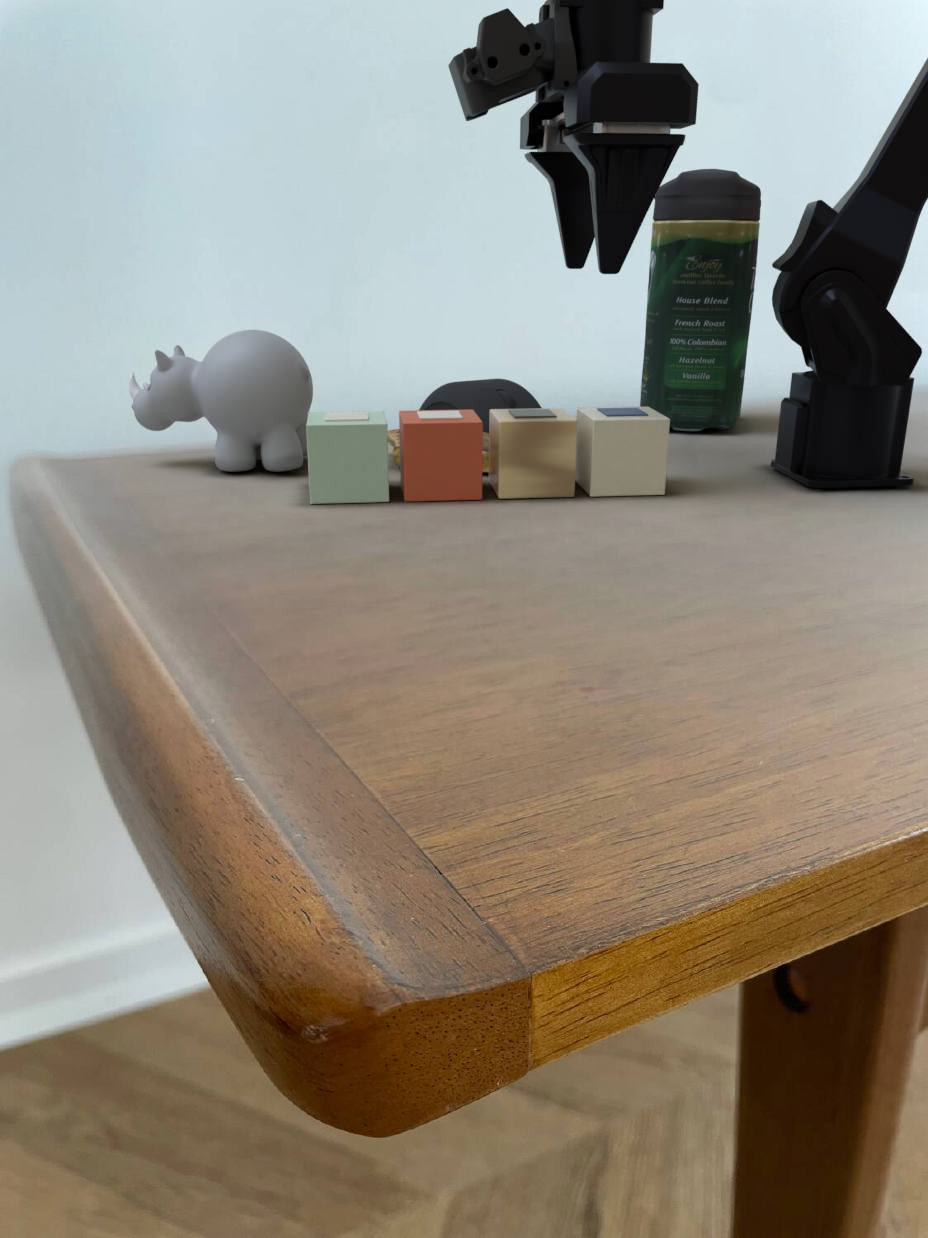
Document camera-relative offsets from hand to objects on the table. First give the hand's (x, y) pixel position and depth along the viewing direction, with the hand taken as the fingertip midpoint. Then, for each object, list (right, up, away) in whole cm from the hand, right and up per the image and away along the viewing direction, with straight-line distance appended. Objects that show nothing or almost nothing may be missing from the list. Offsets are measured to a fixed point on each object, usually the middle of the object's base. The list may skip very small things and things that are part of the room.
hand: (590, 270), depth 63 cm
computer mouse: (-6, -8, +15) cm, 18 cm away
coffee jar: (+10, -6, +20) cm, 23 cm away
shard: (-7, -11, +6) cm, 14 cm away
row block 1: (-14, -14, -3) cm, 20 cm away
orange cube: (-9, -14, -2) cm, 17 cm away
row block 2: (-4, -14, -2) cm, 14 cm away
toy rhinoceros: (-23, -11, +5) cm, 26 cm away
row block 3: (+2, -13, -1) cm, 13 cm away
